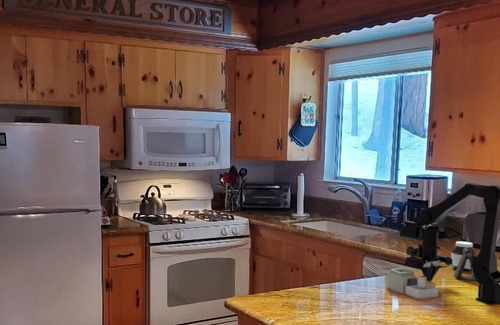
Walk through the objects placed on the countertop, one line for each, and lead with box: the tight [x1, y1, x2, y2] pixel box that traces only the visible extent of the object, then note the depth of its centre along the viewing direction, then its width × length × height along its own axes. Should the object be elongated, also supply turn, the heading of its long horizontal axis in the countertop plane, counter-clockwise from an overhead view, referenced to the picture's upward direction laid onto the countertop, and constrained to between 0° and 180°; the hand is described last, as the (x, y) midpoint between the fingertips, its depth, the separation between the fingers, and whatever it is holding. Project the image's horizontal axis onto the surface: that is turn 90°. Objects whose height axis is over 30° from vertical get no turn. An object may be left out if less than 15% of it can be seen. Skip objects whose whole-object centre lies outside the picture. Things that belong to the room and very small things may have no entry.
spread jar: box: [450, 240, 477, 272], centre depth 222 cm, size 12×11×12 cm
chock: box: [426, 280, 436, 288], centre depth 184 cm, size 5×6×3 cm
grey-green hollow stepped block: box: [386, 267, 417, 294], centre depth 183 cm, size 8×9×7 cm
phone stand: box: [453, 248, 478, 282], centre depth 203 cm, size 9×6×12 cm, turn 75°
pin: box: [416, 275, 426, 290], centre depth 175 cm, size 3×3×6 cm
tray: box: [405, 285, 439, 300], centre depth 175 cm, size 6×9×3 cm, turn 116°
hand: (427, 284), depth 188 cm, fingers closed
